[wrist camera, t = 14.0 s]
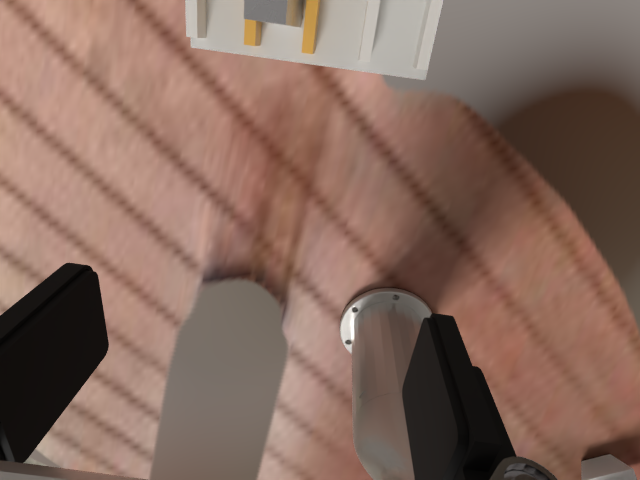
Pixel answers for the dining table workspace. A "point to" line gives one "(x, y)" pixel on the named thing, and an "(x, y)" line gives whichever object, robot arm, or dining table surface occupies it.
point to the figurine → (606, 469)
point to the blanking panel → (274, 11)
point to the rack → (326, 34)
